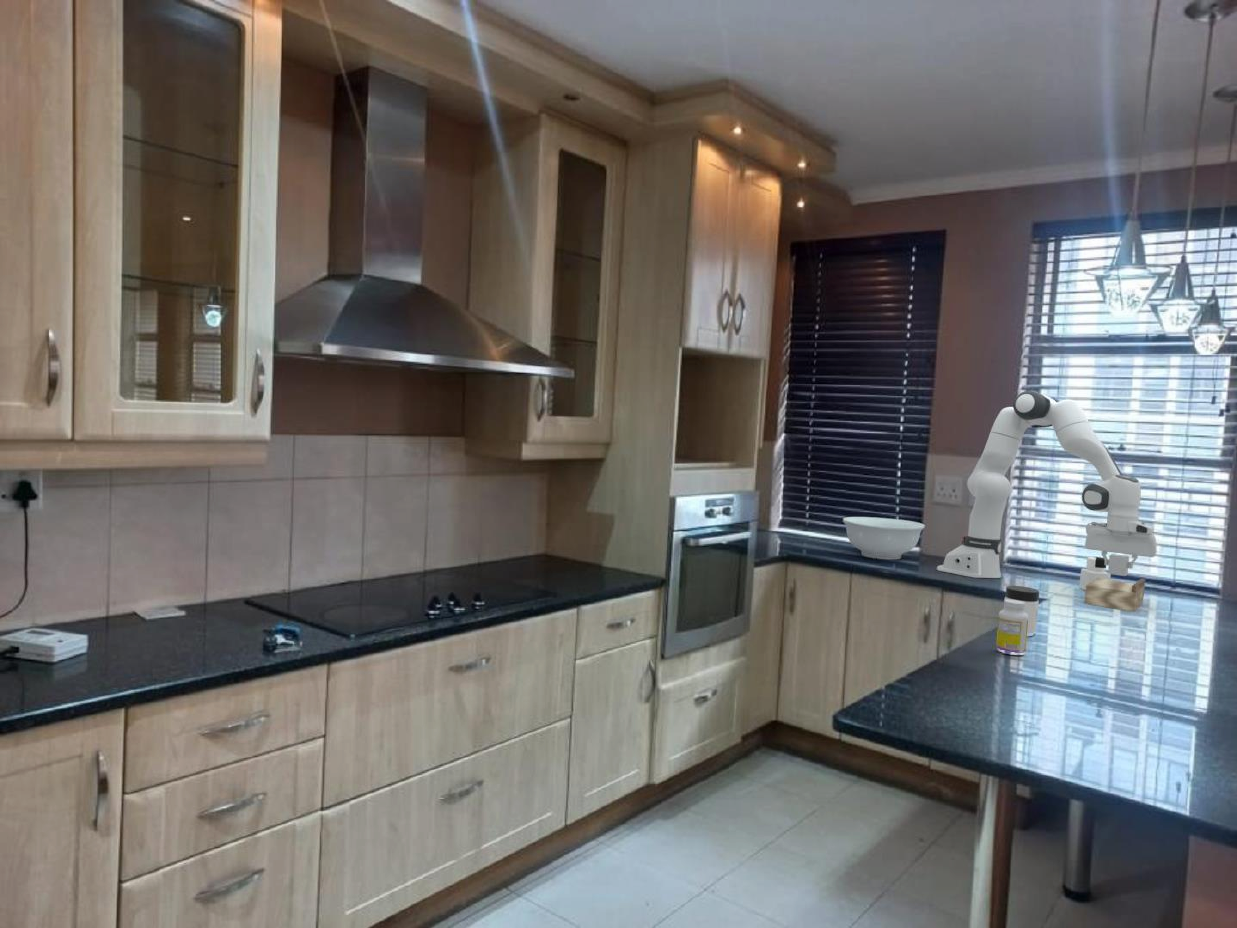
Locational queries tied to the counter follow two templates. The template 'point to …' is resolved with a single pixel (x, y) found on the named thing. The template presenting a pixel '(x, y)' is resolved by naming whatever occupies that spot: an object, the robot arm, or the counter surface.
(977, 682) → the counter surface
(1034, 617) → the jar
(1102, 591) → the riser
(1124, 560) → the lock block
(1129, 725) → the counter surface
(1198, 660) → the counter surface
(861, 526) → the bowl
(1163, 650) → the counter surface
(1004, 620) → the supplement bottle
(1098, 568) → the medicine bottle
